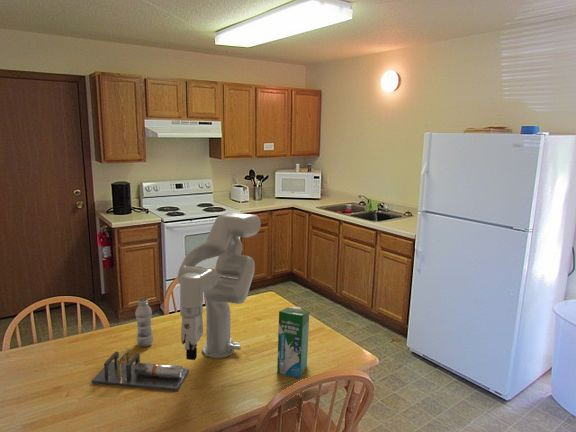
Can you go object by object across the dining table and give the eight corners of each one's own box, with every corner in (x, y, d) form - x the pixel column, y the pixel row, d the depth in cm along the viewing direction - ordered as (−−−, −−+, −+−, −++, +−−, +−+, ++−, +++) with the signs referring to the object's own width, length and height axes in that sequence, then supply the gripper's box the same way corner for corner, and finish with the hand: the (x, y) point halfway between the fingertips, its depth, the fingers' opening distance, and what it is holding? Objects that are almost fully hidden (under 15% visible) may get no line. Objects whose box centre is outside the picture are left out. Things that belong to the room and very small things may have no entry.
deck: (189, 371, 156) (188, 368, 155) (177, 391, 144) (177, 388, 144) (109, 364, 158) (109, 361, 158) (91, 383, 147) (91, 380, 146)
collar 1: (119, 365, 156) (118, 351, 154) (108, 378, 148) (107, 363, 147) (116, 365, 156) (115, 351, 155) (105, 378, 148) (104, 363, 147)
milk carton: (307, 365, 162) (309, 305, 157) (300, 378, 154) (302, 315, 148) (285, 361, 165) (287, 301, 159) (277, 373, 156) (278, 311, 151)
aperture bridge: (130, 367, 155) (129, 348, 154) (120, 379, 148) (119, 359, 146) (128, 366, 155) (127, 348, 154) (117, 379, 148) (116, 359, 146)
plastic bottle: (155, 341, 176) (154, 296, 172) (149, 349, 170) (147, 303, 165) (141, 340, 177) (139, 295, 173) (133, 348, 170) (131, 302, 166)
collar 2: (140, 367, 155) (139, 353, 154) (130, 380, 147) (129, 365, 146) (136, 367, 155) (136, 353, 154) (126, 380, 147) (126, 365, 146)
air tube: (182, 374, 152) (182, 363, 151) (178, 381, 147) (178, 370, 147) (140, 370, 153) (139, 359, 152) (134, 377, 149) (134, 366, 148)
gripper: (195, 319, 136) (195, 371, 139) (208, 301, 150) (208, 349, 154) (172, 317, 136) (173, 369, 140) (188, 300, 151) (188, 347, 154)
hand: (191, 358), depth 147 cm, fingers closed
